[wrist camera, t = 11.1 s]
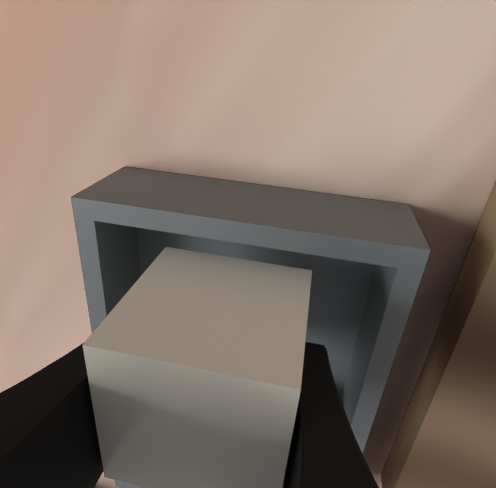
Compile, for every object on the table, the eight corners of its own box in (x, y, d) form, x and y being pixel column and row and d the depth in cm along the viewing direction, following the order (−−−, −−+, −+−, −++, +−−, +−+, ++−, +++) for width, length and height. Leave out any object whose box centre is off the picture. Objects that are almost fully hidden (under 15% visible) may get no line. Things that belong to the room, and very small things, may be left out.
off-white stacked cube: (292, 381, 12) (275, 520, 8) (169, 356, 12) (104, 476, 9) (311, 270, 10) (300, 389, 6) (165, 246, 11) (82, 345, 7)
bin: (332, 469, 18) (332, 542, 15) (145, 425, 19) (115, 486, 16) (408, 204, 12) (430, 250, 9) (124, 166, 13) (70, 197, 10)
